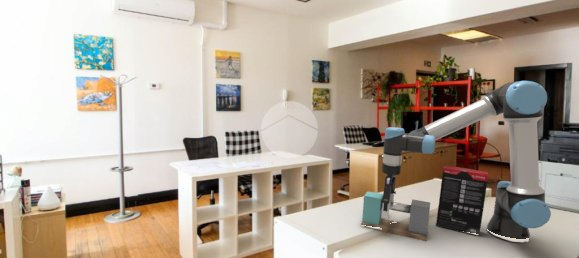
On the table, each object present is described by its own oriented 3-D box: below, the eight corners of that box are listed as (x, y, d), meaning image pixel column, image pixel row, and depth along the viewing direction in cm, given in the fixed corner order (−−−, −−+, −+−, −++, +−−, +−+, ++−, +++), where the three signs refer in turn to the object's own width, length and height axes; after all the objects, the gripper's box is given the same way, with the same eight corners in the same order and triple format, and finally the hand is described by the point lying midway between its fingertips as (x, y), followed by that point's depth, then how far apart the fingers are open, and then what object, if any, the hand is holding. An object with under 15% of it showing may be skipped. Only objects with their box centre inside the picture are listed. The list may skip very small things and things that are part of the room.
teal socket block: (381, 219, 142) (383, 194, 140) (378, 225, 135) (380, 198, 134) (365, 216, 145) (367, 191, 143) (362, 221, 138) (364, 195, 137)
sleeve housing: (427, 229, 134) (430, 202, 132) (426, 236, 127) (429, 207, 126) (409, 225, 137) (412, 199, 135) (408, 232, 130) (411, 204, 129)
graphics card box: (480, 231, 138) (488, 170, 135) (480, 237, 132) (488, 173, 129) (437, 221, 147) (443, 163, 143) (435, 226, 141) (442, 166, 137)
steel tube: (414, 212, 134) (415, 204, 133) (414, 215, 131) (414, 207, 130) (373, 204, 141) (374, 197, 140) (372, 207, 138) (372, 199, 137)
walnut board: (427, 231, 135) (427, 228, 135) (426, 241, 126) (426, 237, 126) (365, 218, 146) (366, 215, 146) (361, 226, 137) (361, 223, 137)
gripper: (386, 157, 147) (383, 202, 149) (377, 168, 125) (373, 220, 127) (404, 160, 144) (399, 205, 146) (397, 171, 122) (392, 225, 124)
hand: (387, 212), depth 137 cm, fingers open, 12 cm apart
